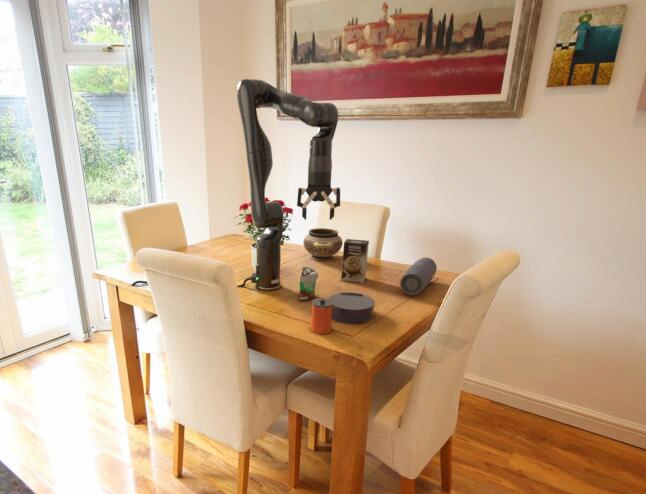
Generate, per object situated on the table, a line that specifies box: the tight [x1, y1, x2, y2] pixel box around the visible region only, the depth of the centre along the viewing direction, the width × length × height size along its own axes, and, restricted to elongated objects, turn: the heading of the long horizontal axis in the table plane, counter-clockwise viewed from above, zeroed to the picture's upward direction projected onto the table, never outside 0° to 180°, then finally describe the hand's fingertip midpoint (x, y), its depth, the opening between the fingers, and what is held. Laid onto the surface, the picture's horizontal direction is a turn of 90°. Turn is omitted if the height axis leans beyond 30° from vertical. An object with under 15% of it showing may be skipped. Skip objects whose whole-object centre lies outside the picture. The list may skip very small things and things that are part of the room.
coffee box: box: [340, 238, 370, 284], centre depth 185 cm, size 9×6×16 cm
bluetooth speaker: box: [399, 257, 438, 296], centre depth 175 cm, size 23×9×10 cm, turn 147°
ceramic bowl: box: [303, 227, 344, 262], centre depth 215 cm, size 24×18×15 cm
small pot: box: [310, 297, 333, 335], centre depth 144 cm, size 7×7×10 cm
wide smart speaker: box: [327, 292, 376, 324], centre depth 155 cm, size 15×15×5 cm
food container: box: [299, 266, 319, 302], centre depth 170 cm, size 12×6×10 cm, turn 168°
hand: (317, 219), depth 156 cm, fingers open, 8 cm apart
